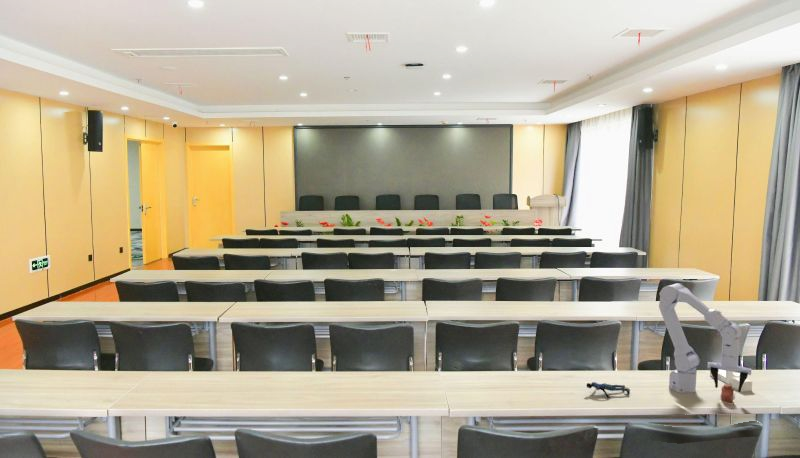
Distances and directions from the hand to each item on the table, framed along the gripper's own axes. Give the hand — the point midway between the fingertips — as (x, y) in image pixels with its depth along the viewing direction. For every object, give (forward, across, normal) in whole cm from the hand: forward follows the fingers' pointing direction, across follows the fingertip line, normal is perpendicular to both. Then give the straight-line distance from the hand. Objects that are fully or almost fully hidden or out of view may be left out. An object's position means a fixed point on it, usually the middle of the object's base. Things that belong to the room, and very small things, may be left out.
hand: (727, 389), depth 215 cm
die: (+6, +4, +18) cm, 19 cm away
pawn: (+5, 0, 0) cm, 5 cm away
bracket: (+6, -1, +27) cm, 28 cm away
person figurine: (+6, -41, -16) cm, 44 cm away
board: (+6, 0, +5) cm, 8 cm away
